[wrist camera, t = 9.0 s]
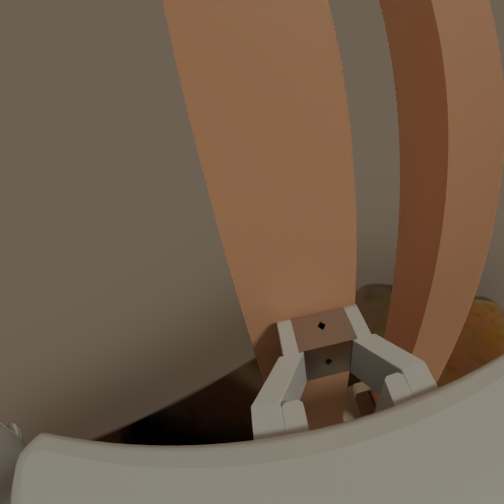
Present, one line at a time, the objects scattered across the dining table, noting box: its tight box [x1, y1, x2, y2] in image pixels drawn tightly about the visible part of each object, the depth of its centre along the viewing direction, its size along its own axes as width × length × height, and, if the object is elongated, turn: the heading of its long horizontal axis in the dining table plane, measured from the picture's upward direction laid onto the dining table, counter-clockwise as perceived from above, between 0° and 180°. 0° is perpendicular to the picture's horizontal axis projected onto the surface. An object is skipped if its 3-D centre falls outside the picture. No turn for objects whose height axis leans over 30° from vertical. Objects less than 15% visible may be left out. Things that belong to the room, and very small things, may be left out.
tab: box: [163, 0, 356, 430], centre depth 14 cm, size 4×4×32 cm
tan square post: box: [370, 0, 504, 408], centre depth 15 cm, size 4×4×32 cm
